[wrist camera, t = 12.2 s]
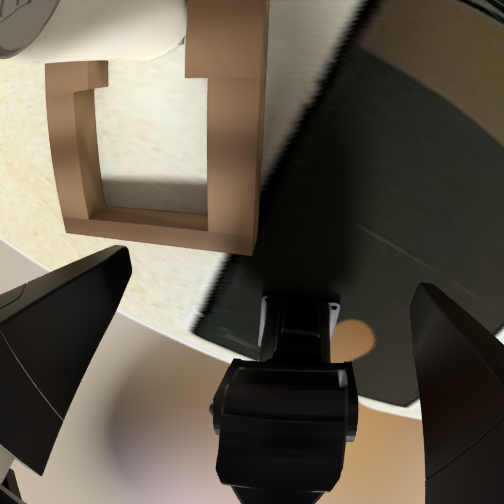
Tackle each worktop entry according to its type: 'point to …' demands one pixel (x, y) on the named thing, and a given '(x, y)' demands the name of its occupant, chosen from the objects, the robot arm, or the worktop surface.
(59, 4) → the can
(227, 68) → the keyhole plate
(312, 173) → the worktop surface
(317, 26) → the worktop surface
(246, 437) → the robot arm
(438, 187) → the worktop surface
